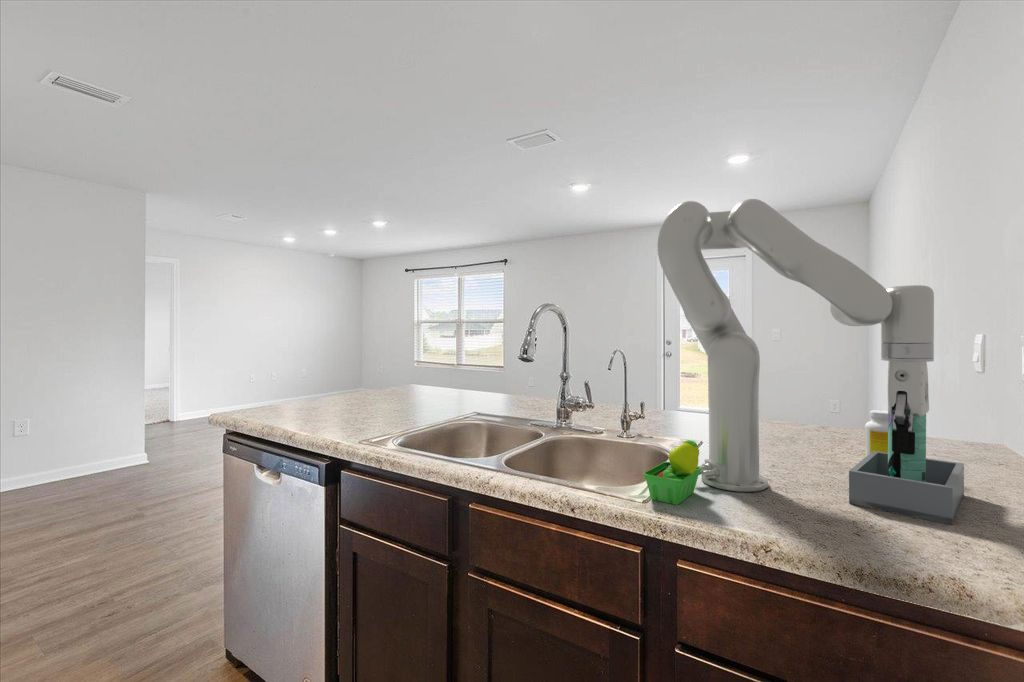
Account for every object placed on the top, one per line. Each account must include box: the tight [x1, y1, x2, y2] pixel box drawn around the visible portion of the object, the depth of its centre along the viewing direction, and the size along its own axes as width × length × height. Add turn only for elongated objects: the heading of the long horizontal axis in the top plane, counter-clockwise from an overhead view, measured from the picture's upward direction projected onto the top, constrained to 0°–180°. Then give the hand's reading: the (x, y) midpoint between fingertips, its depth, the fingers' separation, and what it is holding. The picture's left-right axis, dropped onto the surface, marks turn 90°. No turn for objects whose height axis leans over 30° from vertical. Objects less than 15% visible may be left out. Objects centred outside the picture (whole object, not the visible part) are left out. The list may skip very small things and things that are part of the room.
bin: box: [848, 451, 965, 526], centre depth 90 cm, size 20×14×6 cm
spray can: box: [887, 396, 927, 482], centre depth 90 cm, size 6×6×20 cm
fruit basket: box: [643, 439, 701, 506], centre depth 93 cm, size 11×9×11 cm
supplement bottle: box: [864, 409, 888, 458], centre depth 110 cm, size 7×7×13 cm
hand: (906, 449), depth 90 cm, fingers closed on spray can, 5 cm apart
